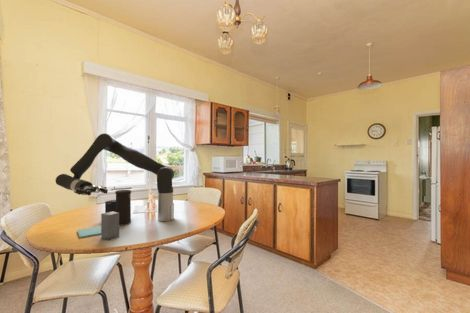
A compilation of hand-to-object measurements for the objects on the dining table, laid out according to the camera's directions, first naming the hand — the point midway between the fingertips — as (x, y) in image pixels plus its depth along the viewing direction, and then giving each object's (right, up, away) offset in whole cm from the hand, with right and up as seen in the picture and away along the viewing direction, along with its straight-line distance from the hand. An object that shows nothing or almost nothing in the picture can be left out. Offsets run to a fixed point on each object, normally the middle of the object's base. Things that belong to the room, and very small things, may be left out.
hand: (98, 192), depth 118 cm
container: (+4, -21, +18) cm, 28 cm away
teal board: (-4, -21, +2) cm, 22 cm away
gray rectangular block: (+9, -21, -6) cm, 24 cm away
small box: (-3, -22, +26) cm, 34 cm away
